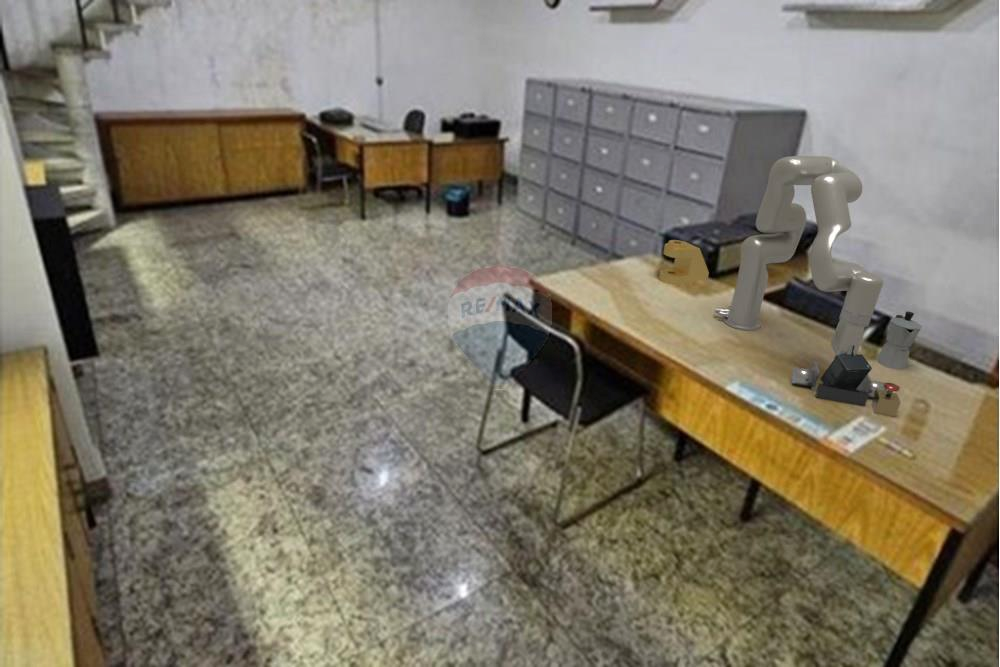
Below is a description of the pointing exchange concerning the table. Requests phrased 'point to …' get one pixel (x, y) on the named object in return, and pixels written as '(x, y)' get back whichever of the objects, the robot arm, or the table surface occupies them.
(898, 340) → the coffee maker
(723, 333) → the table surface
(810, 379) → the dark grey bracket shape
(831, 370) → the box
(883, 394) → the valve
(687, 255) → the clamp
